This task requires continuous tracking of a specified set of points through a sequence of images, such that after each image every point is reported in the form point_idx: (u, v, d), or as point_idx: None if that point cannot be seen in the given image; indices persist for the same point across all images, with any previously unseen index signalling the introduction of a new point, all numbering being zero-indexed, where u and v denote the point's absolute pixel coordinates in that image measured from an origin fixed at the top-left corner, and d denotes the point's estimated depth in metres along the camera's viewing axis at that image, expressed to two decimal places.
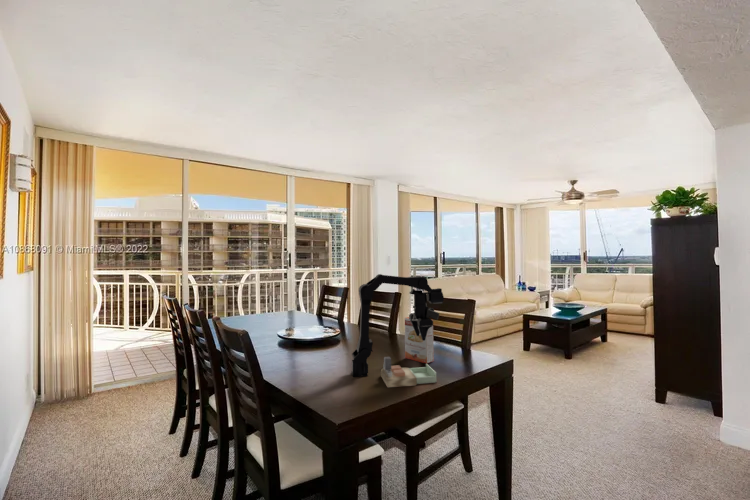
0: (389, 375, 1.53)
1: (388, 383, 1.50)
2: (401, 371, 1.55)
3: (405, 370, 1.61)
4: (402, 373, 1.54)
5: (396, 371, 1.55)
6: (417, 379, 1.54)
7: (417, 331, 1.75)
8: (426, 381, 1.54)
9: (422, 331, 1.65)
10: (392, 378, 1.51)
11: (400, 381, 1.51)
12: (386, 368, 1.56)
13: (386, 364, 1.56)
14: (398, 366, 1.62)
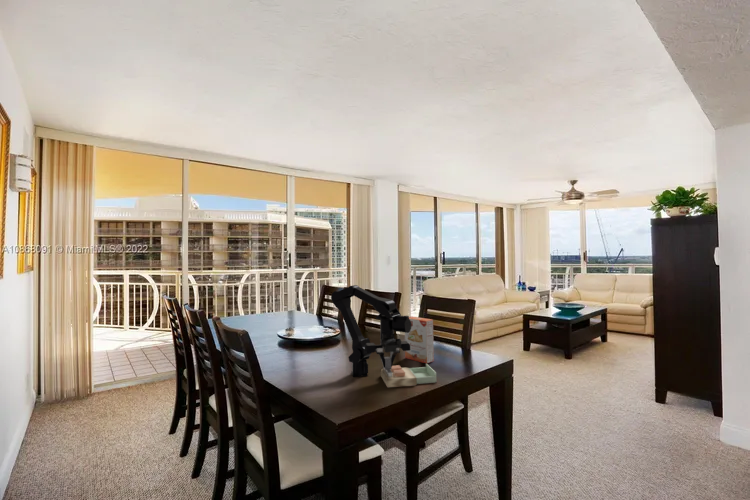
0: (389, 375, 1.53)
1: (388, 383, 1.50)
2: (401, 371, 1.55)
3: (405, 370, 1.61)
4: (402, 373, 1.54)
5: (396, 371, 1.55)
6: (417, 379, 1.54)
7: None
8: (426, 381, 1.54)
9: (380, 356, 1.59)
10: (392, 378, 1.51)
11: (400, 381, 1.51)
12: (386, 368, 1.56)
13: (386, 364, 1.56)
14: (398, 366, 1.62)
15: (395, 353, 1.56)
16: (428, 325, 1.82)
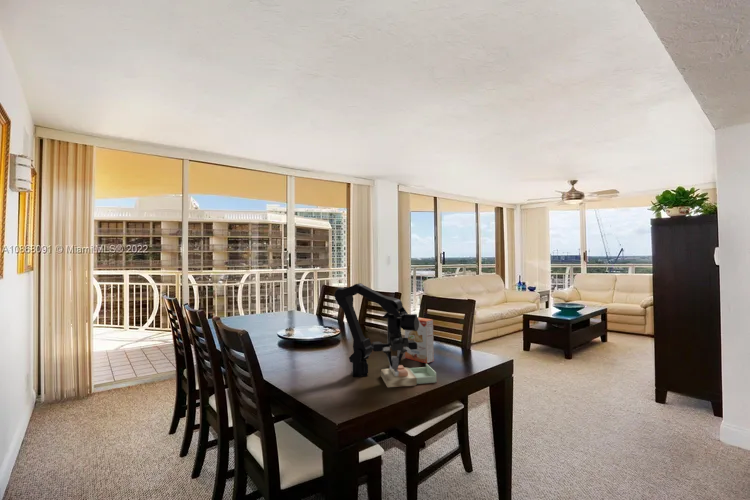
0: (395, 374, 1.53)
1: (388, 383, 1.50)
2: (404, 371, 1.56)
3: None
4: (405, 373, 1.54)
5: (399, 371, 1.56)
6: (417, 379, 1.54)
7: None
8: (426, 381, 1.54)
9: (387, 355, 1.59)
10: (392, 378, 1.51)
11: (400, 381, 1.51)
12: (393, 367, 1.57)
13: (393, 363, 1.57)
14: (401, 366, 1.62)
15: (402, 352, 1.57)
16: (428, 325, 1.82)
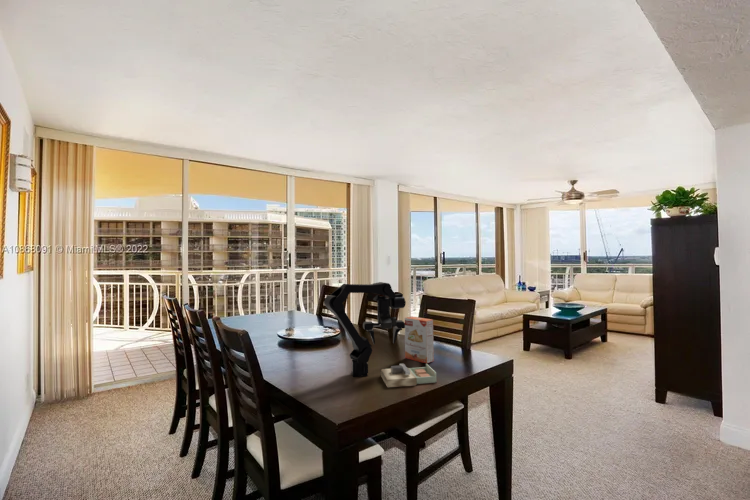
0: (408, 374, 1.54)
1: (388, 383, 1.50)
2: None
3: None
4: None
5: None
6: (417, 379, 1.54)
7: (393, 338, 1.73)
8: (426, 381, 1.54)
9: (370, 334, 1.72)
10: (392, 378, 1.51)
11: (400, 381, 1.51)
12: (401, 372, 1.58)
13: (398, 372, 1.57)
14: None
15: (398, 330, 1.71)
16: (428, 325, 1.82)
